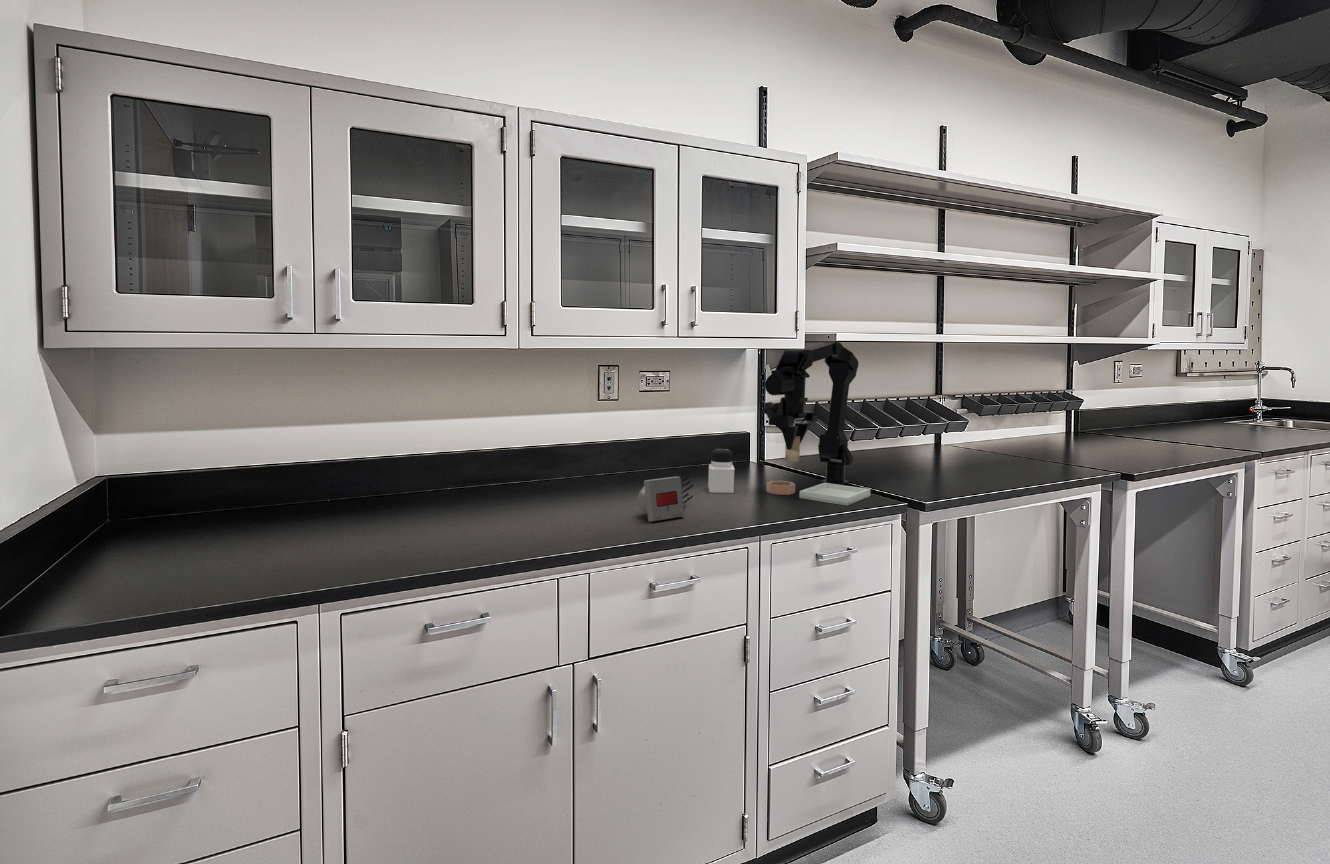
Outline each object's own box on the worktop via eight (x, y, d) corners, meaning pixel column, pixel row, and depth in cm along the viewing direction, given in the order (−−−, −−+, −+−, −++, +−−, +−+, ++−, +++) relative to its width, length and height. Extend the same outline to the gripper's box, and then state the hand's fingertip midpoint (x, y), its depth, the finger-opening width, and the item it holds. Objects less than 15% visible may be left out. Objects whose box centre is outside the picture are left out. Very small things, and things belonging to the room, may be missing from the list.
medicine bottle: (734, 493, 199) (735, 451, 197) (709, 492, 199) (710, 451, 197) (732, 488, 206) (733, 448, 204) (708, 487, 206) (709, 447, 204)
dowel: (789, 459, 202) (790, 435, 201) (801, 460, 200) (802, 436, 199) (782, 460, 199) (783, 436, 198) (795, 462, 197) (795, 437, 196)
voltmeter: (675, 526, 162) (676, 484, 160) (629, 521, 165) (630, 480, 164) (704, 502, 187) (705, 466, 186) (664, 499, 190) (664, 463, 189)
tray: (824, 489, 206) (824, 482, 206) (870, 496, 198) (870, 489, 198) (799, 498, 194) (799, 490, 193) (847, 505, 185) (847, 498, 185)
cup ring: (775, 488, 207) (775, 479, 207) (798, 491, 202) (799, 483, 202) (762, 492, 201) (762, 483, 201) (786, 495, 196) (786, 487, 196)
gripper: (785, 391, 209) (783, 442, 211) (752, 394, 195) (751, 449, 197) (819, 393, 202) (817, 446, 204) (788, 396, 188) (786, 453, 190)
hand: (792, 448), depth 199 cm, fingers closed on dowel, 4 cm apart
